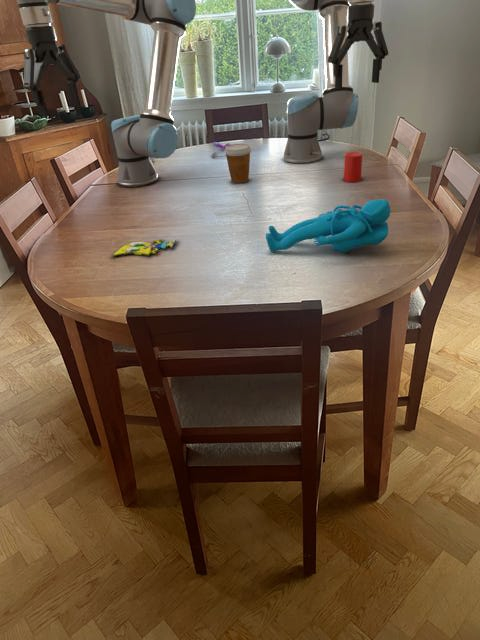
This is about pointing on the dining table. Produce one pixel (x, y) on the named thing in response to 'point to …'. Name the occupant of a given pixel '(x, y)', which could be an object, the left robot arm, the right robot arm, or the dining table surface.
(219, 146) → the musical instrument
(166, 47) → the left robot arm
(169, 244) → the toy
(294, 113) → the right robot arm
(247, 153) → the disposable coffee cup
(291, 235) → the toy
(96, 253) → the dining table surface
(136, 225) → the dining table surface
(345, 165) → the can
